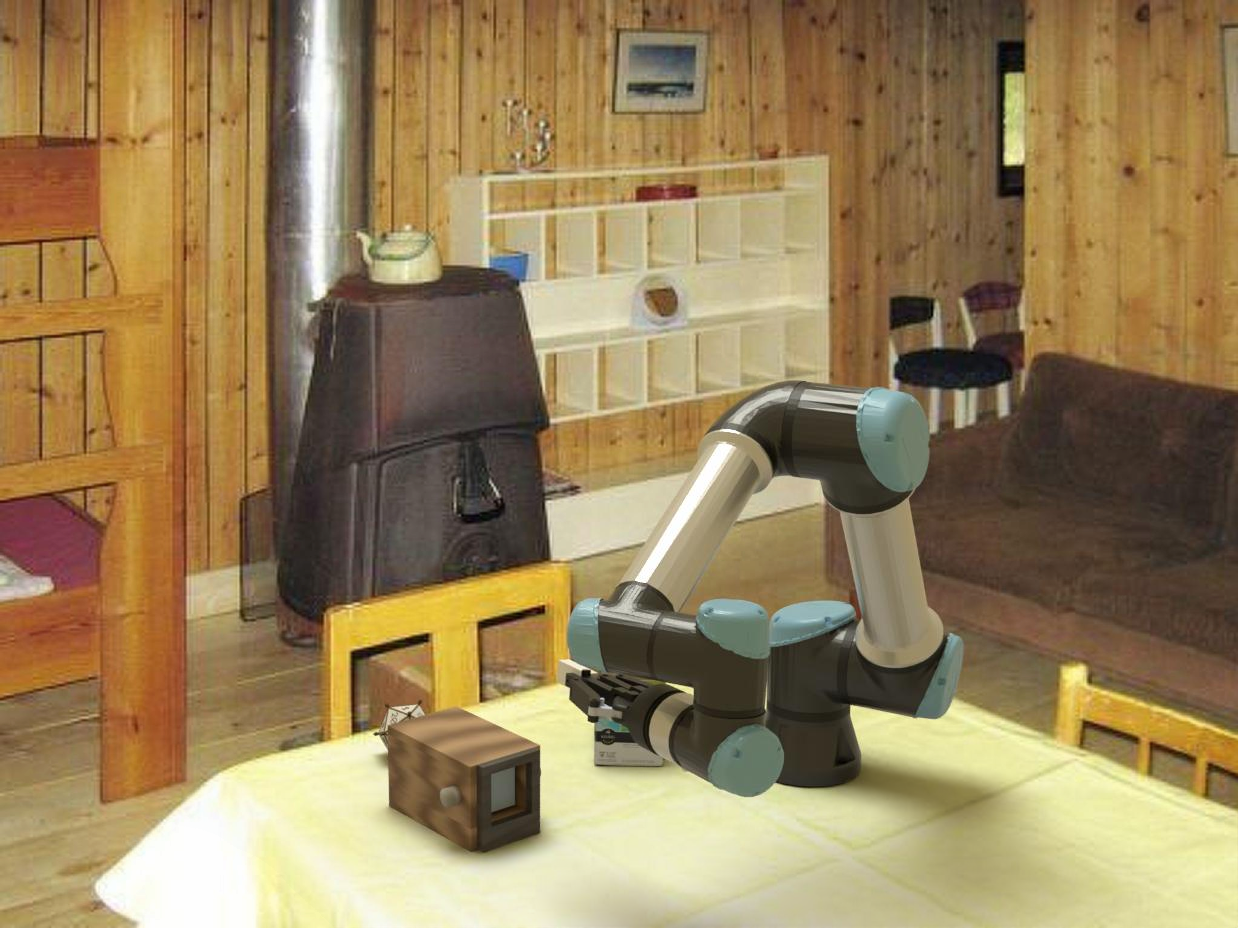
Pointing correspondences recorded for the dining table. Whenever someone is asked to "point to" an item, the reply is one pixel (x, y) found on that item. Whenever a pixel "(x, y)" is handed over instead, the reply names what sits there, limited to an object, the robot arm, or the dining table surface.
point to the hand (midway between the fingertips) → (563, 670)
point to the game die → (398, 718)
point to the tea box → (620, 742)
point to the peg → (502, 789)
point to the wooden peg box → (463, 777)
